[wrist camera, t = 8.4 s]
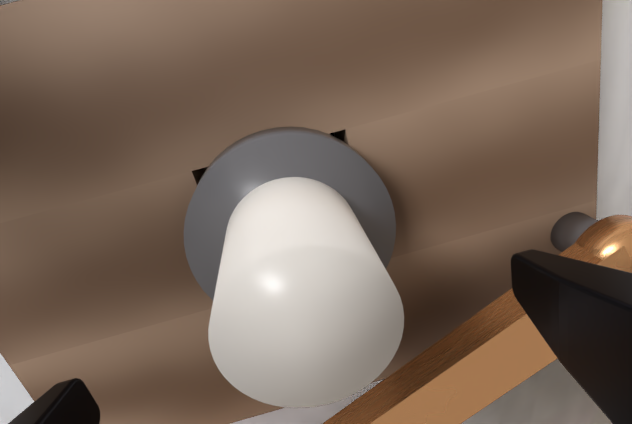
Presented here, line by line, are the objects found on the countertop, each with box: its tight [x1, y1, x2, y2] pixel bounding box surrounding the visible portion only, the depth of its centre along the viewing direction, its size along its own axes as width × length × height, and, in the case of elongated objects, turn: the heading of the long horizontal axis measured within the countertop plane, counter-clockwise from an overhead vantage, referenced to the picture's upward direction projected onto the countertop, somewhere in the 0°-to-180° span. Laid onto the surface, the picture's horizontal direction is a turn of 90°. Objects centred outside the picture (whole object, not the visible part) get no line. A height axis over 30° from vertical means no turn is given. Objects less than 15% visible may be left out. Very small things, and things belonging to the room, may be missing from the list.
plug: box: [184, 126, 404, 408], centre depth 13 cm, size 6×6×9 cm
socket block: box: [0, 0, 602, 424], centre depth 15 cm, size 16×22×4 cm
